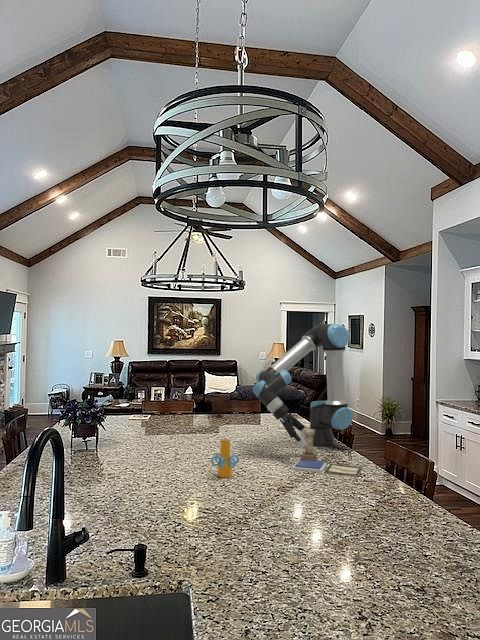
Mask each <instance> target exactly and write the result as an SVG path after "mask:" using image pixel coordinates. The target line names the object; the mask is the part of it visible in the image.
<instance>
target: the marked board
mask: <svg viewBox="0 0 480 640" xmlns="http://www.w3.org/2000/svg"><path fill="white" fill-rule="evenodd" d="M362 470H363V469H362V466H355V465H354V466H353V465H345V464H336V463H330V464H329V465H328V467H326V468H325V471H324V474H328V475H338V476H347V477H355V478H358V477H359V476H360V474H361V472H362Z"/></svg>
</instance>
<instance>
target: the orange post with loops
mask: <svg viewBox="0 0 480 640" xmlns="http://www.w3.org/2000/svg"><path fill="white" fill-rule="evenodd" d="M219 451H220V452H218V453H216V454H215V455H214V456H212V457H211V460H210V463H211V465H212V466H213V467H217V477H219V478H223V479H227V478H232V476H233V468H235V466H236V465H237V464H238V463H239V460H240V458H239V456H238V454H232V455H231V439H229V438H222V439H220V450H219ZM235 458H236V459H235ZM214 460H215V463H214Z"/></svg>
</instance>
